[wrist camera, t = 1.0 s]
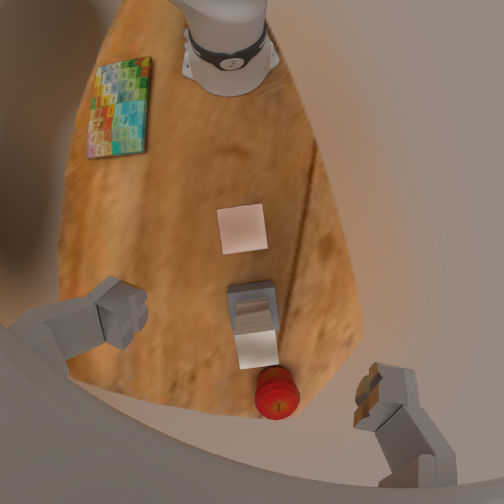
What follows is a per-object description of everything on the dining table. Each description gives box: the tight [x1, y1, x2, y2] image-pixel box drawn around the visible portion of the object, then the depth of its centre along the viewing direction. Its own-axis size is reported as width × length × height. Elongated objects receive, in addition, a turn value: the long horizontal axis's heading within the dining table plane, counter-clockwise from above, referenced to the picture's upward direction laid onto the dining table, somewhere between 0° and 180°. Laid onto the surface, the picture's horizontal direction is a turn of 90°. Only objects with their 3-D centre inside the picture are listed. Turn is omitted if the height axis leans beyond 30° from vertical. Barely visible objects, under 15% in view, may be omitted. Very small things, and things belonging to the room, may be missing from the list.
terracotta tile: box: [217, 203, 268, 255], centre depth 52 cm, size 8×8×1 cm
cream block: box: [234, 297, 279, 369], centre depth 42 cm, size 5×5×14 cm
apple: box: [255, 367, 300, 420], centre depth 51 cm, size 9×8×12 cm
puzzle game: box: [86, 56, 152, 160], centre depth 46 cm, size 12×5×20 cm
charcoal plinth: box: [227, 280, 280, 337], centre depth 52 cm, size 8×8×5 cm
